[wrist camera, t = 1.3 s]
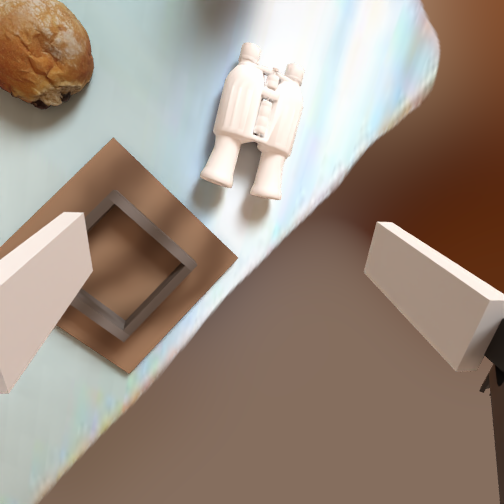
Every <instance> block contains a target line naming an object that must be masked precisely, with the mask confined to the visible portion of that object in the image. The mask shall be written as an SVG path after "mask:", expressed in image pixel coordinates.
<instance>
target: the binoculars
mask: <svg viewBox="0 0 504 504" xmlns="http://www.w3.org/2000/svg"><path fill="white" fill-rule="evenodd" d="M260 53H261V49H260V48H259V47H258V46H257V45H255V44H253V43H248V42H247V43H244V44H243V45H242V48H241V52H240V56H239V59H238V61H239V63H238V65H237V66H236V67H235V68H234V69H233V70H232V71H230V73H229V74H228V76H227V78H226V79H225V83H224V87H223V91H222V95H221V100H220V104H219V108H218V112H217V116H216V120H215V125H214V129H213V133H214V134H215V136H216V139H215V146H214V148H213V150H212V153H211V155H210V157H209V159H208V162H207V164H206V166H205V168H204V169H203V170H202V172H201V174H200V177H201V178H202V179H204V180H206V181H209V182H211V183H214V184H217V185H220V186H223V187H227V188H231V187H232V185H233V174H234V170H235V166H236V162H237V158H238V154H239V151H240V147H241V144H243V143H248V142H256V143H258V145H257V149H259V150H260V151H261V152H262V154H261V158H260V162H259V166H258V170H257V174H256V178H255V181H254V184H253V186H252V188H251V190H250V194H251V195H254V196H258V197H262V198H268V199H274V200H281V181H282V168H283V165H284V162H285V159H287V157H290V154H291V151H292V147H293V143H294V139H295V136H296V132H297V128H298V124H299V121H300V117H301V113H302V109H303V99H302V95H301V92H300V89H299V88H300V87H299V86H301V84H302V79H303V75H304V71H305V70H304V68H303V67H302V66H300V65H298V64H288V65H287V67H286V71H285V75H283V74H281V73H279V72H278V71H279V70H278V69H277V68H273V69H270V68H267V67H265V66H261V65H258V62H259V58H260ZM264 75H266V76H268V77H267V81H266V85H265V82H264ZM263 99H266V100H267V101H263ZM254 133H255V134H257V135H258V136H256V135H254Z"/></svg>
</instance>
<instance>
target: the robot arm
mask: <svg viewBox="0 0 504 504" xmlns="http://www.w3.org/2000/svg"><path fill="white" fill-rule="evenodd" d="M92 271H93V268H92V262H91V256H90V249H89V243H88V237H87V230H86V224H85V218H84V213H80V212H63V213H62V214H60V215H59V216H58V217H56V218H55V219H54V220H52V221H51V222H50V223H48V224H47V225H46V226H44V227H43V228H42V229H41V230H39V231H38V232H37V233H35V234H34V235H33V236H31V237H30V238H29V239H27V240H26V241H25V242H23V243H22V244H21V245H19V246H18V247H17V248H15V249H14V250H13V251H11V252H10V253H9V254H7V255H6V256H5V257H3V258H2V259H1V260H0V394H6V393H10V391H11V390H12V388H13V387H14V385H15V384H16V382H17V381H18V379H19V378H20V376H21V375H22V374H23V372H24V371H25V369H26V368H27V366H28V365H29V363H30V362H31V360H32V359H33V358H34V356H35V355H36V353H37V352H38V350H39V349H40V347H41V346H42V344H43V343H44V341H45V340H46V339H47V337H48V336H49V334H50V333H51V331H52V330H53V328H54V327H55V325H56V324H57V323H58V321H59V320H60V318H61V317H62V315H63V314H64V312H65V311H66V309H67V308H68V306H69V305H70V304H71V302H72V301H73V299H74V298H75V296H76V295H77V293H78V292H79V290H80V289H81V288H82V286H83V285H84V283H85V282H86V280H87V279H88V277H89V276H90V274H91V273H92ZM364 273H365V274H366V275H367V276H368V277H369V279H371V281H372V282H373V283H374V284H375V285H376V286H377V287H378V288H379V289H380V290H381V291H382V292H383V294H384V295H386V297H387V298H388V299H389V300H390V301H391V302H392V303H393V304H394V305H395V306H396V308H397V309H398V310H399V311H400V312H401V313H402V314H403V315H404V316H405V317H406V318H407V319H408V320H409V322H410V323H411V324H412V325H413V326H414V327H415V328H416V329H417V330H418V331H419V332H420V333H421V334H422V336H423V337H424V338H425V339H426V340H427V341H428V342H429V343H430V344H431V345H432V346H433V347H434V348H435V349H436V351H437V352H438V353H439V354H440V355H441V356H442V357H443V358H444V359H445V360H446V361H447V362H448V363H449V365H451V367H452V368H453V369H454V370H455V371H456V372H458V371H476V370H477V369H478V368H479V366H480V364H481V362H482V359H483V358H484V356H486V357H487V358H488V359H489V360H490V361H491V362H493V366H492V367H491V369H490V371H489V373H488V375H487V377H486V379H485V380H484V382H483V384H482V386H481V388H480V392H484V391H485V389H487V388H490V396H491V405H492V416H493V427H494V438H495V450H496V461H497V472H498V484H499V495H500V504H504V294H503V293H501V292H499V291H498V290H496V289H495V288H493V287H491V286H490V285H488V284H487V283H485V282H484V281H482V280H480V279H479V278H478V277H476V276H475V275H473V274H471V273H470V272H468V271H467V270H465V269H464V268H462V267H460V266H459V265H457V264H456V263H454V262H453V261H451V260H450V259H448V258H446V257H445V256H443V255H442V254H440V253H439V252H437V251H436V250H434V249H432V248H431V247H429V246H428V245H426V244H425V243H423V242H422V241H420V240H418V239H417V238H415V237H413V236H412V235H411V234H409V233H407V232H406V231H404V230H403V229H401V228H400V227H398V226H396V225H395V224H393V223H392V222H377V223H376V227H375V231H374V235H373V239H372V243H371V246H370V250H369V254H368V258H367V262H366V266H365V270H364Z"/></svg>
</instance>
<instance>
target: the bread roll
mask: <svg viewBox="0 0 504 504" xmlns="http://www.w3.org/2000/svg"><path fill="white" fill-rule="evenodd" d="M93 69H94V63H93V57H92V55H91V45H90V40H89V37H88V34H87V32H86V30H85V29H84V27H83V26H82V24H81V23H80V21H79V20H77V19H76V17H75V15H74V14H73V13H72V12H71V11H70V10H69V9H68V8H67V7H66V6H65V5H64V4H63V3H61V2H59V1H57V0H0V87H1V88H2V89H3V90H6V91H7V92H9V93H11V95H12V96H13V97H18V98H20V99H21V100H23V101H25V102H28V103H31V104H33V105H34V106H35V107H37V108H40V109H47V108H48V107H49V106H50V105H52V106H58V105H60V104H62V103H63V102H66V101H67V100H68V99H69V98H70V96H71V95H73V94H76V93H77V92H80V91H81V90H82V89H83V87H84V86H85V85H86V84H87V83H89V80H90V78H91V76H92V73H93ZM62 101H63V102H62Z"/></svg>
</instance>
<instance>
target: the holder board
mask: <svg viewBox="0 0 504 504" xmlns="http://www.w3.org/2000/svg"><path fill="white" fill-rule="evenodd" d="M63 212H80V213H84V218H85V224H86V230H87V237H88V243H89V249H90V256H91V262H92V268H93V271H92V273H91V274H90V276H89V277H88V279H87V280H86V282H85V283H84V285H83V286H82V288H81V289H80V290H79V292H78V293H77V295H76V296H75V298H74V299H73V301H72V302H71V304H70V305H69V306H68V308H67V309H66V311H65V312H64V314H63V315H62V317H61V318H60V320H59V321H58V323H57V324H56V325H57V326H59V327H60V328H62V329H63V330H64V331H66V332H67V333H69V334H70V335H72V336H73V337H75V338H76V339H78V340H79V341H81V342H82V343H84V344H85V345H87V346H88V347H90V348H91V349H93V350H94V351H96V352H97V353H99V354H100V355H102V356H103V357H105V358H106V359H108V360H109V361H111V362H112V363H114V364H115V365H117V366H118V367H120V368H121V369H123V370H124V371H126V372H127V373H130V372H131V371H132V370H133V369H134V368H135V367H136V366H137V365H138V364H139V363H140V362H141V361H142V360H143V359H144V357H145V356H146V355H147V354H148V353H149V352H150V351H151V350H152V349H153V348H154V347H155V346H156V345H157V344H158V343H159V342H160V340H161V339H162V338H163V337H164V336H165V335H166V334H167V333H168V332H169V331H170V330H171V329H172V328H173V327H174V326H175V325H176V324H177V322H178V321H179V320H180V319H181V318H182V317H183V316H184V315H185V314H186V313H187V312H188V311H189V310H190V309H191V308H192V307H193V305H194V304H195V303H196V302H197V301H198V300H199V299H200V298H201V297H202V296H203V295H204V294H205V293H206V292H207V291H208V290H209V288H210V287H211V286H212V285H213V284H214V283H215V282H216V281H217V280H218V279H219V278H220V277H221V276H222V275H223V274H224V273H225V272H226V270H227V269H228V268H229V267H230V266H231V265H232V264H233V263H234V262H235V261H236V260H237V259H238V257H237V256H236V255H235V254H234V253H233V252H232V251H231V250H230V249H229V248H227V247H226V246H225V245H224V244H223V243H222V242H221V241H220V240H219V239H218V238H217V237H216V236H215V235H214V234H213V233H212V232H211V231H210V230H209V229H208V228H207V227H206V226H205V225H204V224H203V223H202V222H200V221H199V220H198V219H197V218H196V217H195V216H194V215H193V214H192V213H191V212H190V211H189V210H188V209H187V208H186V207H185V206H184V205H183V204H182V203H181V202H180V201H179V200H178V199H177V198H176V197H175V196H173V195H172V194H171V193H170V192H169V191H168V190H167V189H166V188H165V187H164V186H163V185H162V184H161V183H160V182H159V181H158V180H157V179H156V178H155V177H154V176H153V175H152V174H151V173H150V172H149V171H148V170H146V169H145V168H144V167H143V166H142V165H141V164H140V163H139V162H138V161H137V160H136V159H135V158H134V157H133V156H132V155H131V154H130V153H129V152H128V151H127V150H126V149H125V148H124V147H123V146H122V145H121V144H119V143H118V142H117V141H116V140H115V139H114V138H112V139H111V140H110V141H109V142H108V143H107V144H106V145H105V146H104V147H103V148H102V149H101V150H100V151H99V152H98V153H97V154H96V155H95V156H94V157H93V158H92V159H91V160H90V161H89V162H88V163H87V164H86V165H85V166H84V167H83V168H81V169H80V170H79V171H78V172H77V173H76V174H75V175H74V176H73V177H72V178H71V179H70V180H69V181H68V182H67V183H66V184H65V185H64V186H63V187H62V188H61V189H60V190H59V191H58V192H57V193H56V194H55V195H54V196H53V197H52V198H51V199H50V200H48V201H47V202H46V203H45V204H44V205H43V206H42V207H41V208H40V209H39V210H38V211H37V212H36V213H35V214H34V215H33V216H32V217H31V218H30V219H29V220H28V221H27V222H26V223H25V224H24V225H23V226H22V227H21V228H20V229H19V230H18V231H17V232H16V233H14V234H13V235H12V236H11V237H10V238H9V239H8V240H7V241H6V242H5V243H4V244H3V245H2V246H1V247H0V260H1V259H2V258H3V257H5V256H6V255H7V254H9V253H10V252H11V251H13V250H14V249H15V248H17V247H18V246H19V245H21V244H22V243H23V242H25V241H26V240H27V239H29V238H30V237H31V236H33V235H34V234H35V233H37V232H38V231H39V230H41V229H42V228H43V227H44V226H46V225H47V224H48V223H50V222H51V221H52V220H54V219H55V218H56V217H58V216H59V215H60V214H62V213H63Z"/></svg>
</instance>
